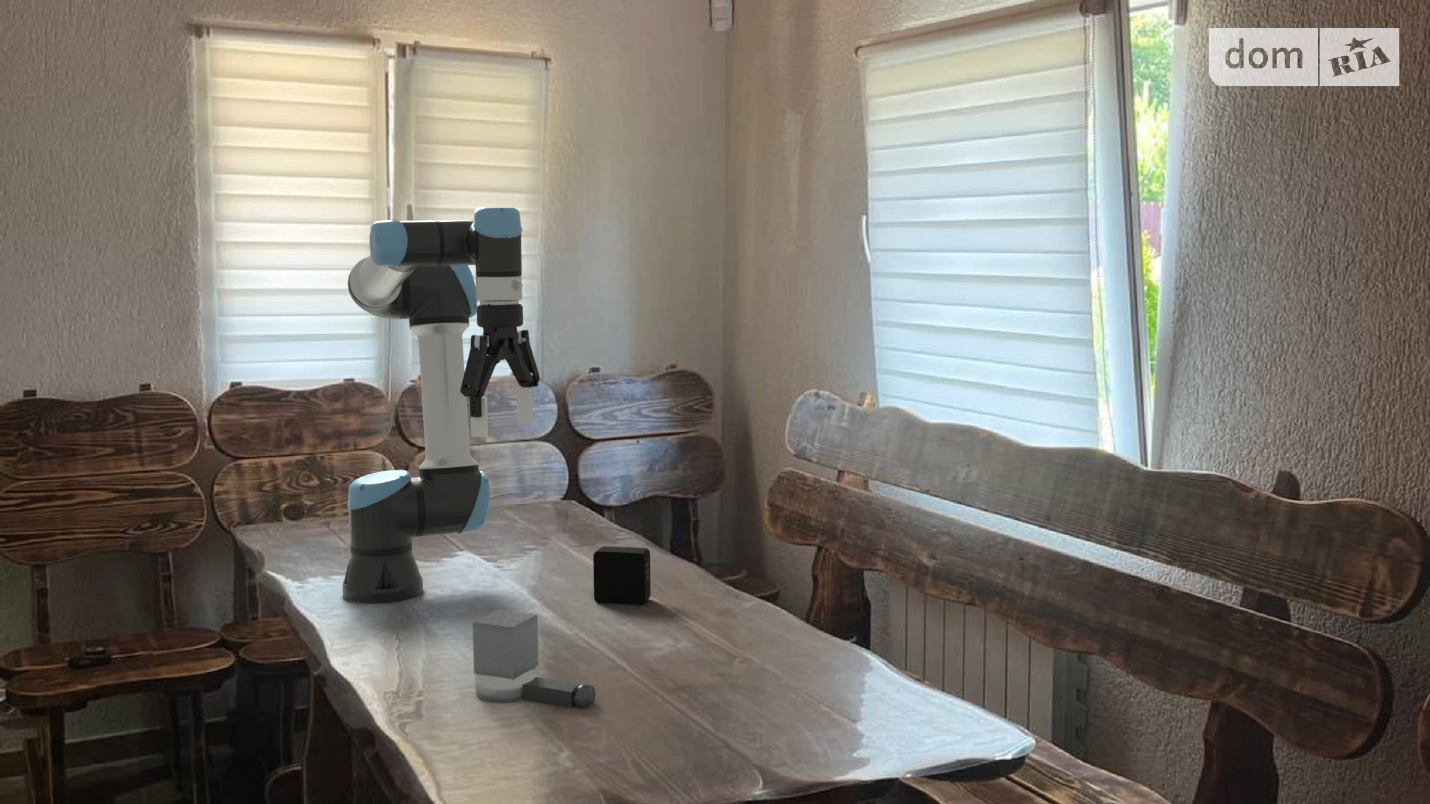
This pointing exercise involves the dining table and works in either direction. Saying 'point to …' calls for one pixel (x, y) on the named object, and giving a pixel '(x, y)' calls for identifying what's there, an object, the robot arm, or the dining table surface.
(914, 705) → the dining table surface
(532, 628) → the dark grey cube
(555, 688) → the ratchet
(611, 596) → the electronic device
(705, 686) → the dining table surface
